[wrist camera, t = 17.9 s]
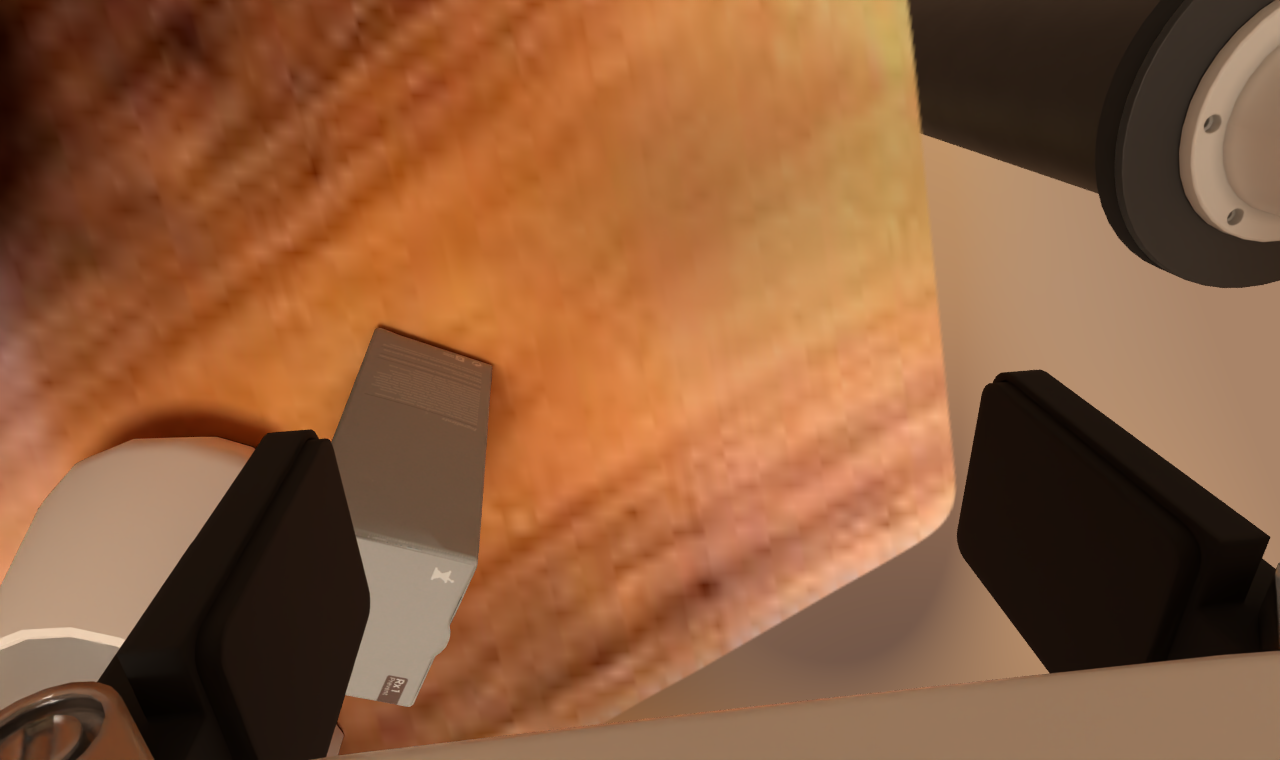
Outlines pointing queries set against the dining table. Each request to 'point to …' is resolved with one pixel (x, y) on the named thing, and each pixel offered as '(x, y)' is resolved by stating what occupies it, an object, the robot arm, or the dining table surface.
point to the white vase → (104, 555)
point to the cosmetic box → (412, 502)
